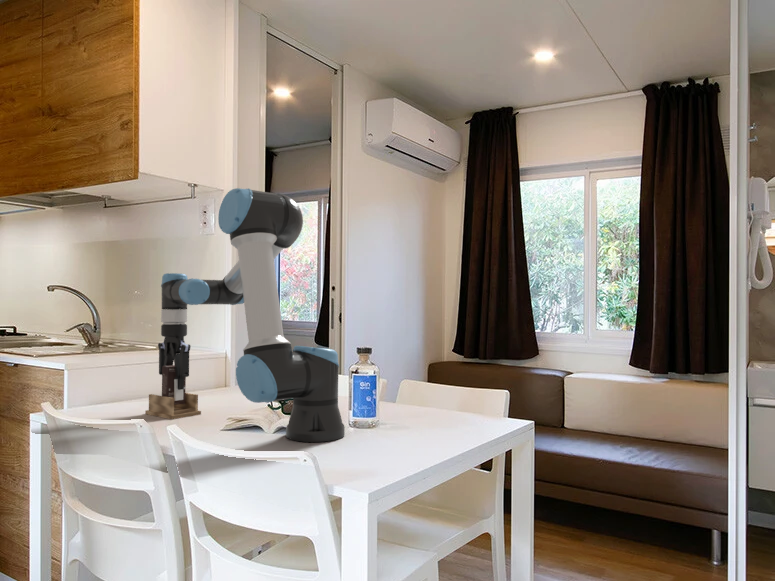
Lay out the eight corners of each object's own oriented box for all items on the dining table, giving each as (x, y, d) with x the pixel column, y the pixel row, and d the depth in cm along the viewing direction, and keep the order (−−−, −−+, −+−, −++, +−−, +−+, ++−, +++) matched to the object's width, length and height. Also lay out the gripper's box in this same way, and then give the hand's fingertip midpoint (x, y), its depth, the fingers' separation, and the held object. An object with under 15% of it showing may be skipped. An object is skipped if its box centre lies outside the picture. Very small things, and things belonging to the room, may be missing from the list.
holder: (201, 414, 184) (201, 394, 184) (172, 419, 176) (172, 398, 176) (174, 409, 192) (174, 390, 192) (145, 413, 184) (145, 394, 184)
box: (167, 406, 180) (167, 366, 180) (161, 405, 183) (161, 365, 184) (186, 404, 184) (186, 365, 185) (180, 402, 187) (179, 364, 188)
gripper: (202, 323, 182) (201, 400, 182) (168, 322, 193) (167, 394, 192) (180, 324, 176) (180, 403, 176) (146, 323, 186) (146, 397, 186)
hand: (173, 399), depth 184 cm, fingers closed on box, 5 cm apart
